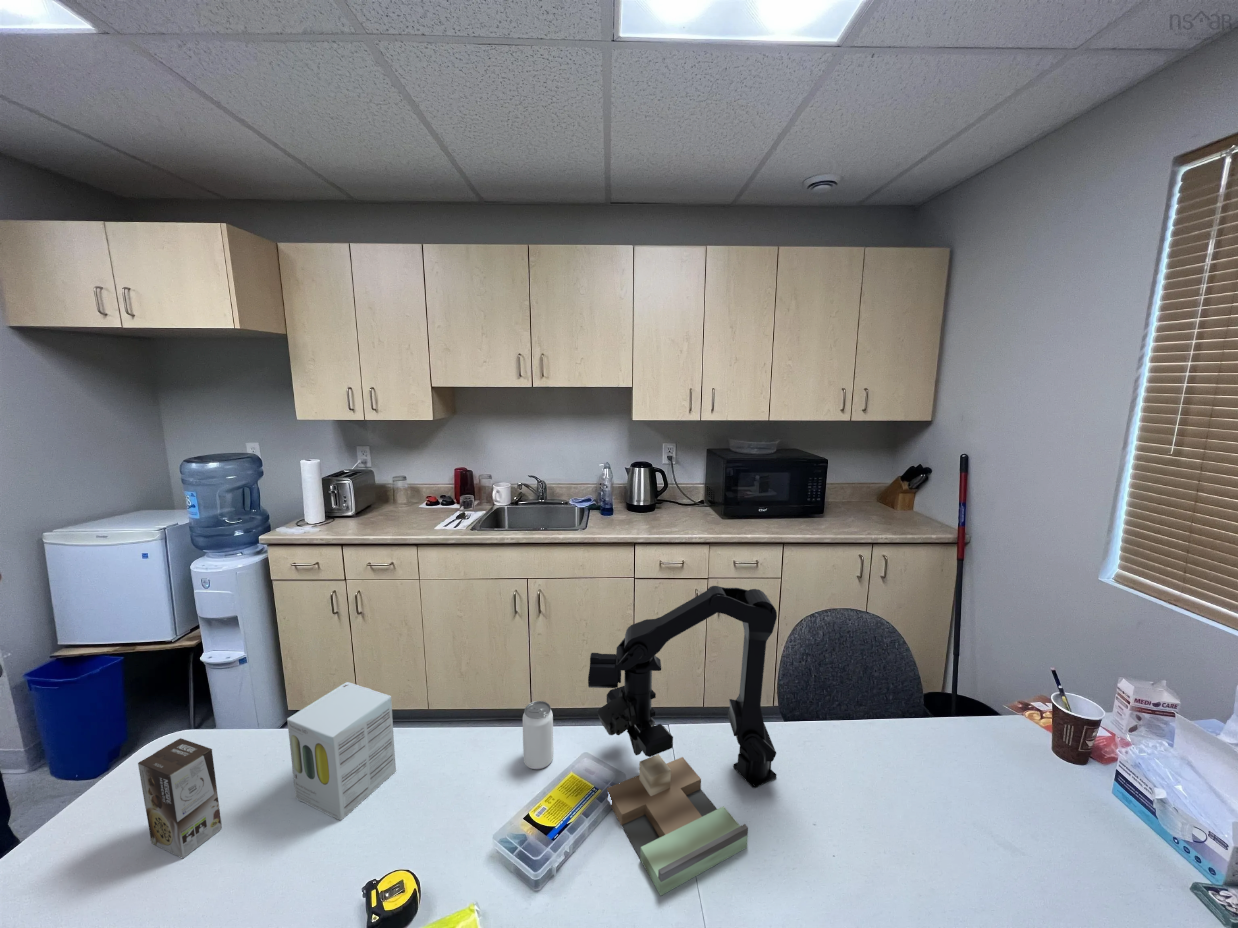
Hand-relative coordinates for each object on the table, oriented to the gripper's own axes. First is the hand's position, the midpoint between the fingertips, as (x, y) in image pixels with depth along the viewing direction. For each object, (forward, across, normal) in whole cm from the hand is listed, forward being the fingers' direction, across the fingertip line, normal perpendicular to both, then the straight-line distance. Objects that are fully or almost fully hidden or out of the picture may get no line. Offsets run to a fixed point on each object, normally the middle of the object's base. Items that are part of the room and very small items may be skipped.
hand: (637, 753), depth 98 cm
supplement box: (+4, -23, -55) cm, 60 cm away
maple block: (+1, +7, 0) cm, 7 cm away
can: (+4, -12, -18) cm, 22 cm away
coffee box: (+4, -23, -80) cm, 83 cm away
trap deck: (+4, +14, 0) cm, 14 cm away
